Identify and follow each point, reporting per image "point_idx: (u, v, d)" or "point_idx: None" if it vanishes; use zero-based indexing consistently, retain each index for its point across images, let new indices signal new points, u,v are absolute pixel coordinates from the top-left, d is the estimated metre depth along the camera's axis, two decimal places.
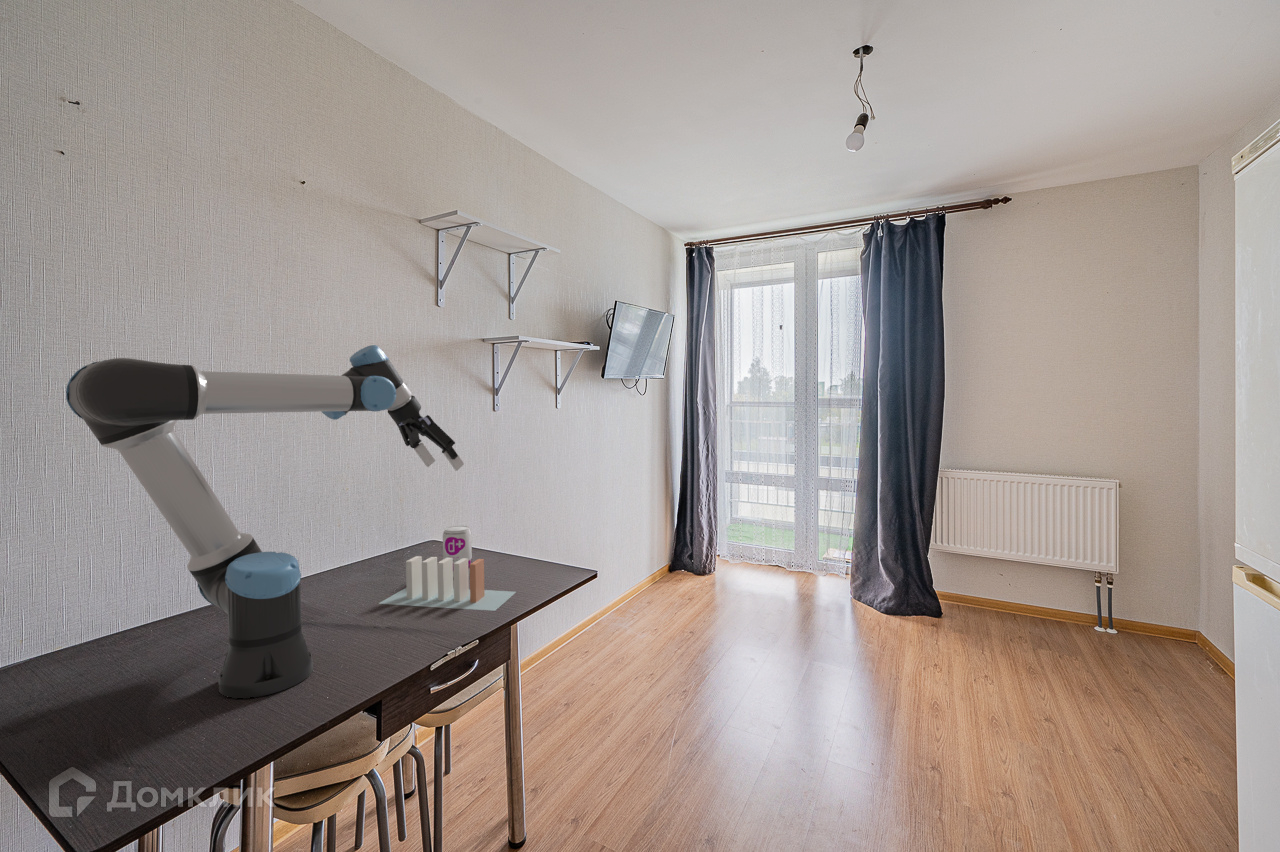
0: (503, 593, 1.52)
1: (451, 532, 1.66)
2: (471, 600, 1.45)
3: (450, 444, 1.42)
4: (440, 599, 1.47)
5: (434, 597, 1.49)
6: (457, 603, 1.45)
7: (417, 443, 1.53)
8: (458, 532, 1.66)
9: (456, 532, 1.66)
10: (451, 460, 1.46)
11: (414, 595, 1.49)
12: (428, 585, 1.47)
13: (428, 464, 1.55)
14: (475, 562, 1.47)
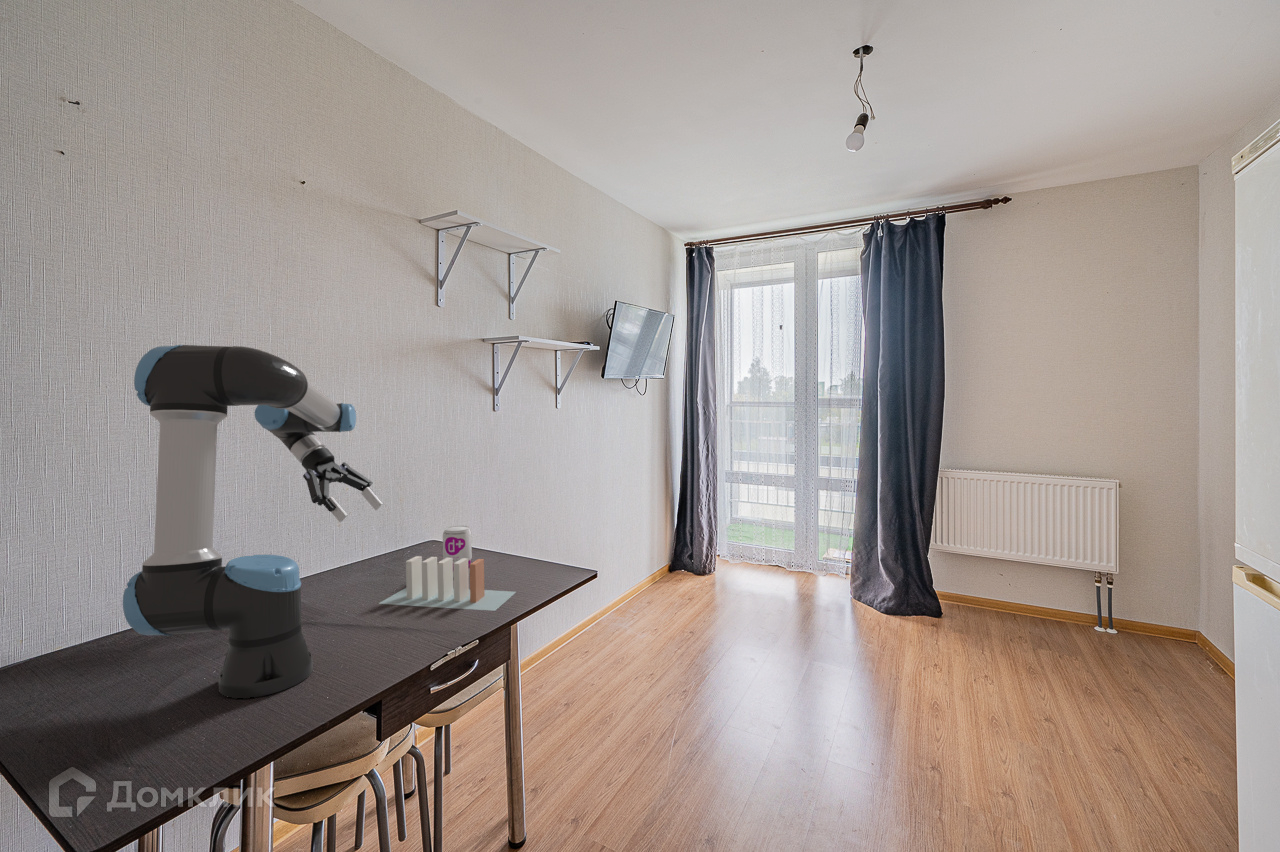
0: (503, 593, 1.52)
1: (451, 532, 1.66)
2: (471, 600, 1.45)
3: None
4: (440, 599, 1.47)
5: (434, 597, 1.49)
6: (457, 603, 1.45)
7: None
8: (458, 532, 1.66)
9: (456, 532, 1.66)
10: None
11: (414, 595, 1.49)
12: (428, 585, 1.47)
13: None
14: (475, 562, 1.47)
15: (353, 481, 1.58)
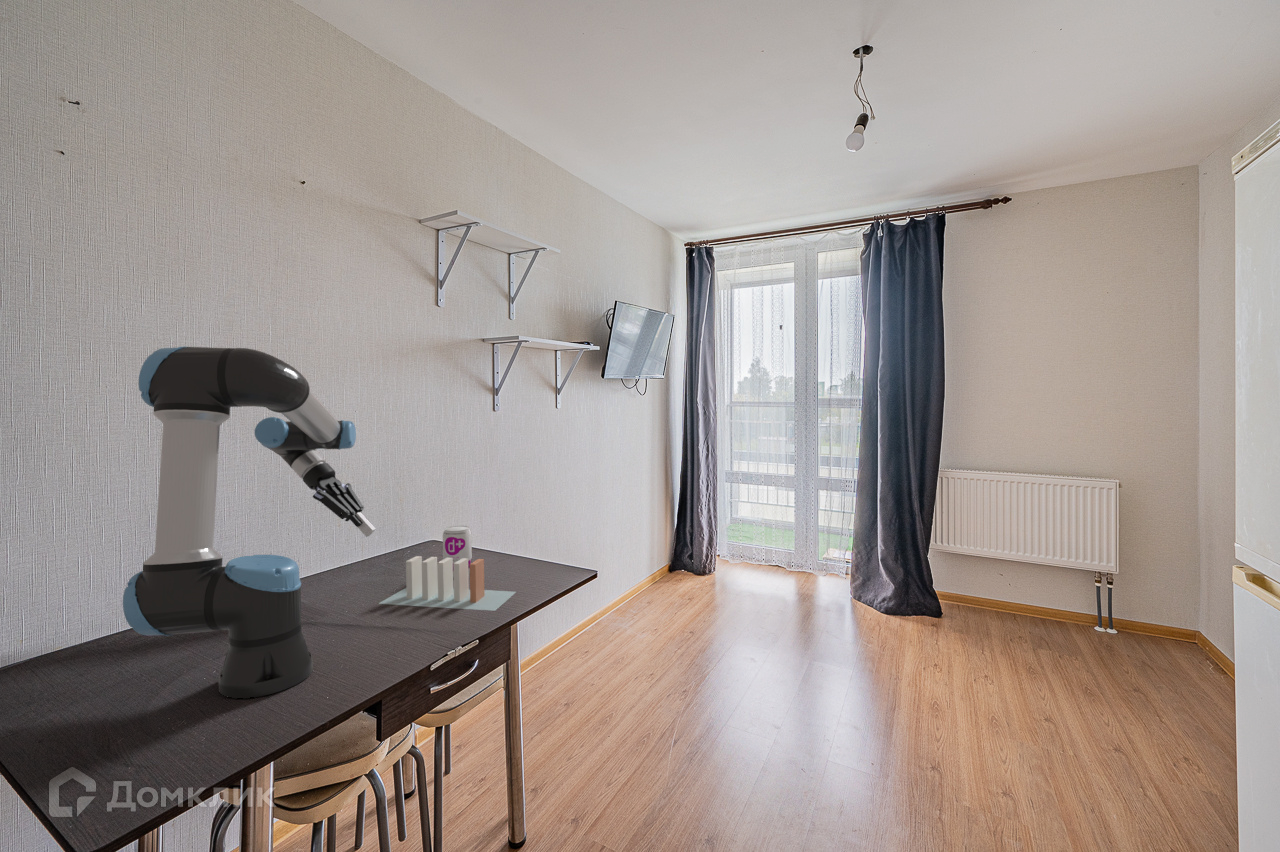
0: (503, 593, 1.52)
1: (451, 532, 1.66)
2: (471, 600, 1.45)
3: None
4: (440, 599, 1.47)
5: (434, 597, 1.49)
6: (457, 603, 1.45)
7: None
8: (458, 532, 1.66)
9: (456, 532, 1.66)
10: None
11: (414, 595, 1.49)
12: (428, 585, 1.47)
13: None
14: (475, 562, 1.47)
15: (347, 501, 1.54)
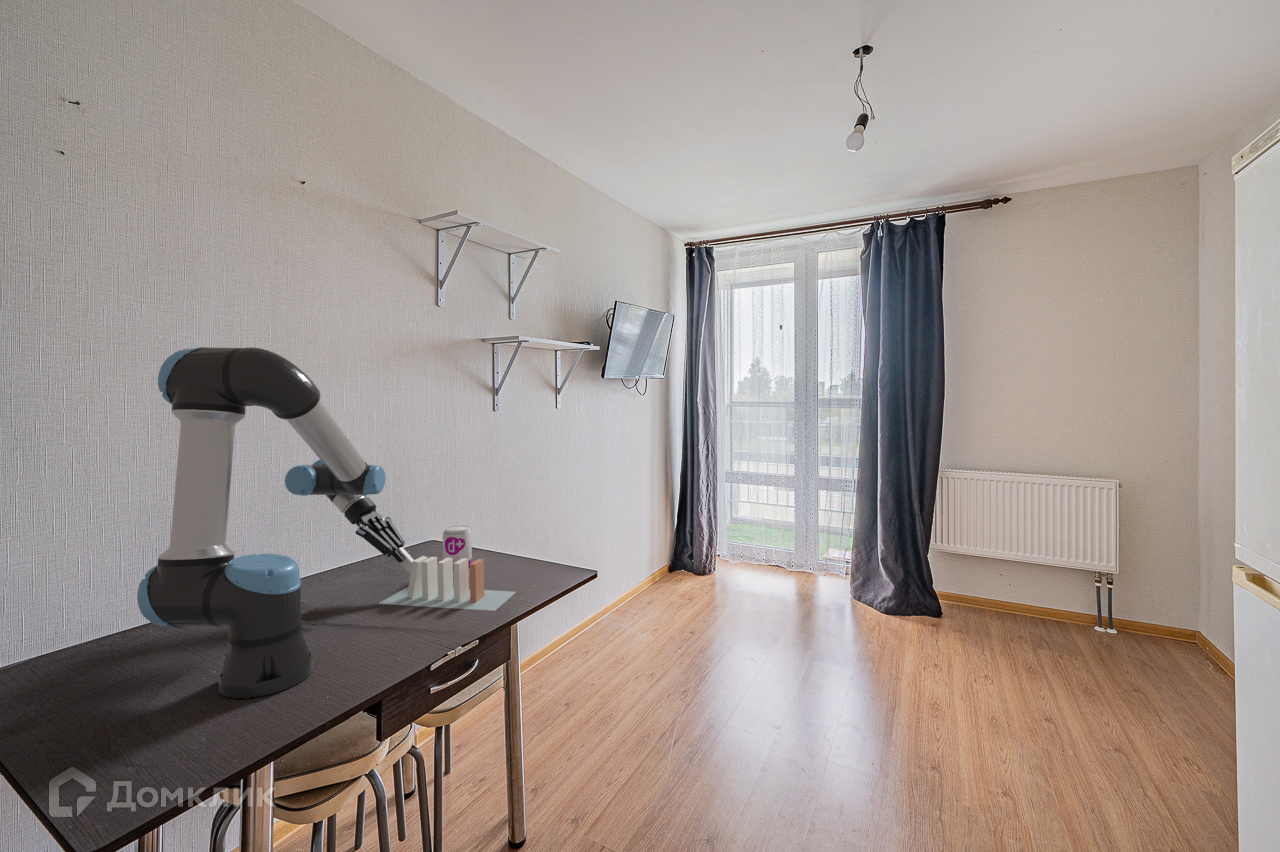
0: (503, 593, 1.52)
1: (451, 532, 1.66)
2: (471, 600, 1.45)
3: None
4: (440, 599, 1.47)
5: (434, 597, 1.49)
6: (457, 603, 1.45)
7: None
8: (458, 532, 1.66)
9: (456, 532, 1.66)
10: None
11: (414, 595, 1.49)
12: (428, 585, 1.47)
13: None
14: (475, 562, 1.47)
15: (388, 536, 1.52)
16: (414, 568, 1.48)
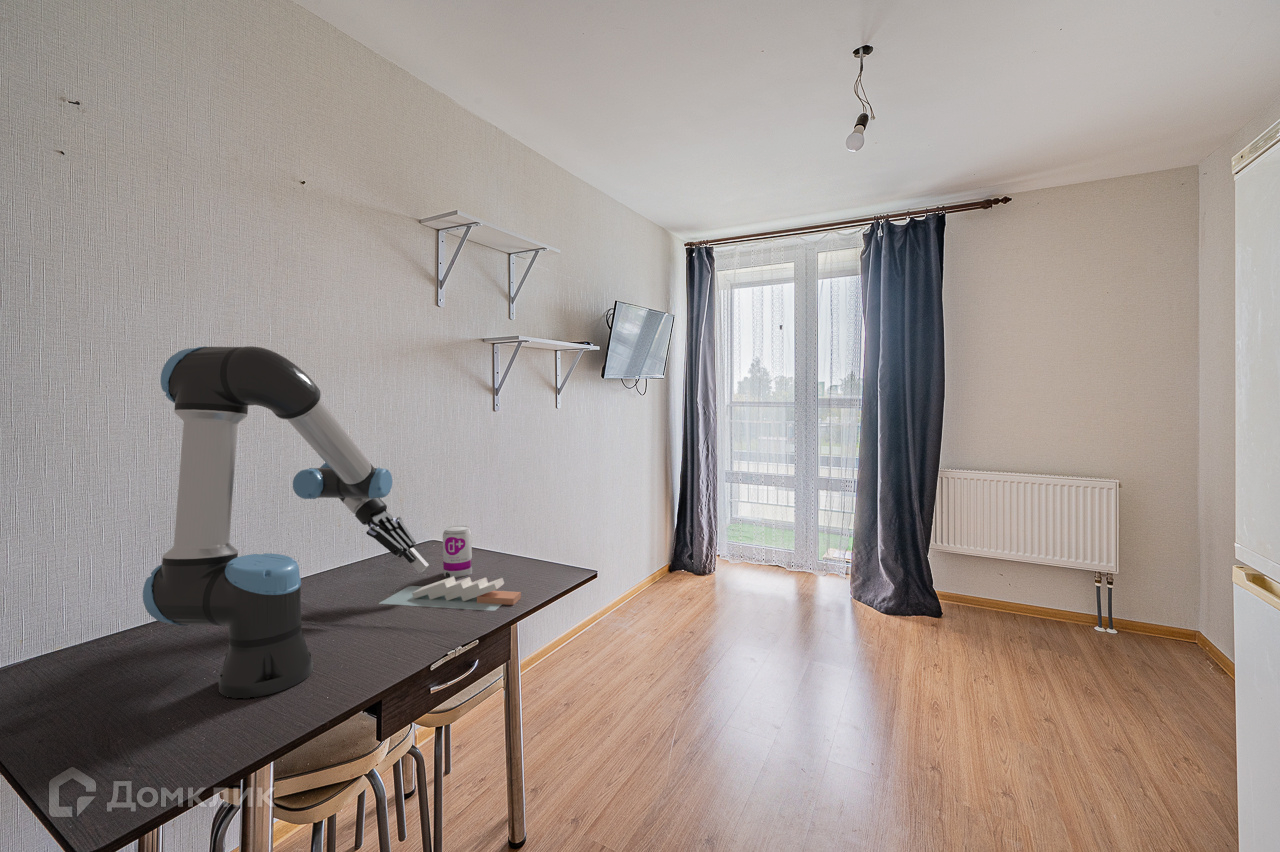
0: None
1: (451, 532, 1.66)
2: (478, 598, 1.45)
3: None
4: (446, 597, 1.46)
5: None
6: (457, 603, 1.45)
7: None
8: (458, 532, 1.66)
9: (456, 532, 1.66)
10: None
11: None
12: (442, 595, 1.47)
13: None
14: (516, 599, 1.45)
15: (399, 536, 1.51)
16: (439, 587, 1.47)
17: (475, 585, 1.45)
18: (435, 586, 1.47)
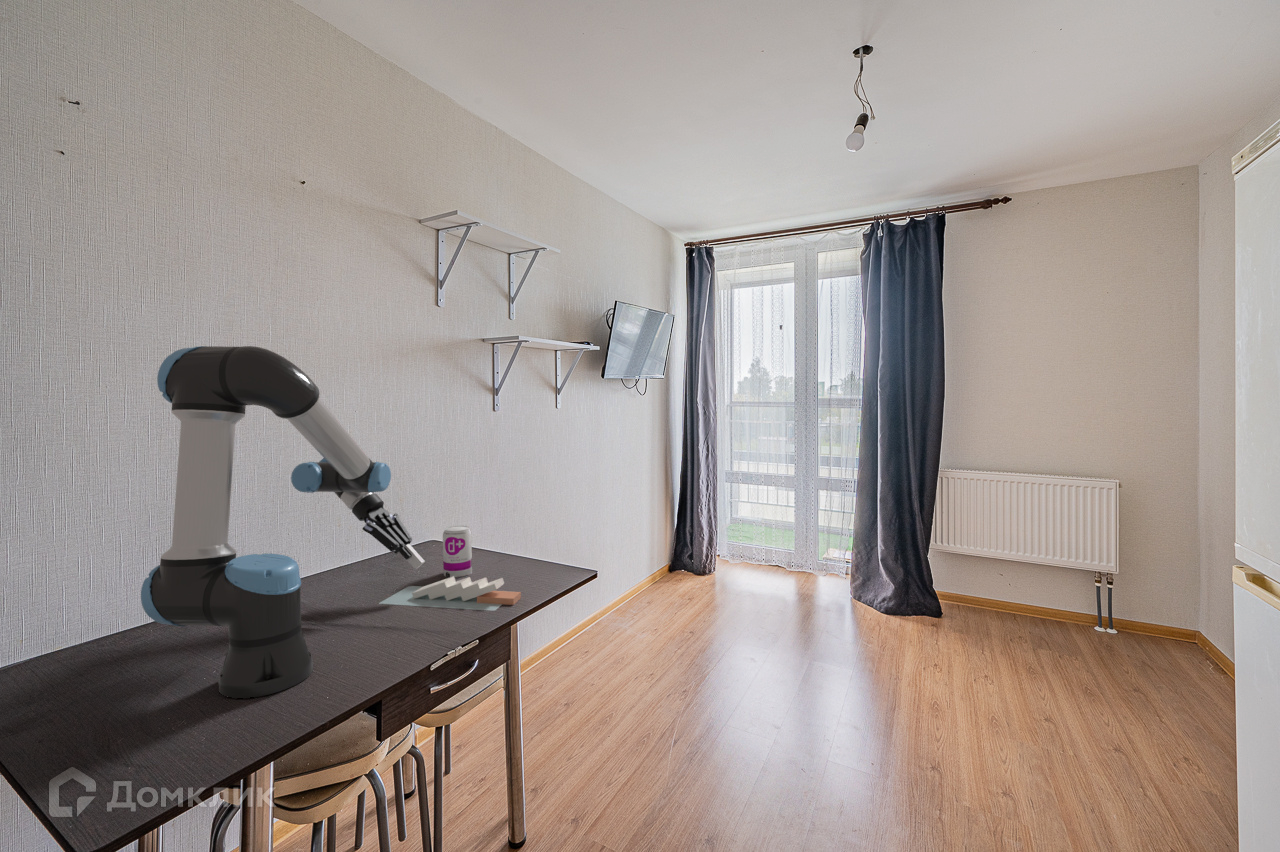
0: None
1: (451, 532, 1.66)
2: (478, 598, 1.45)
3: None
4: (446, 597, 1.46)
5: None
6: (457, 603, 1.45)
7: None
8: (458, 532, 1.66)
9: (456, 532, 1.66)
10: None
11: None
12: (442, 595, 1.47)
13: None
14: (516, 599, 1.45)
15: (396, 533, 1.52)
16: (439, 587, 1.47)
17: (475, 585, 1.45)
18: (435, 586, 1.47)
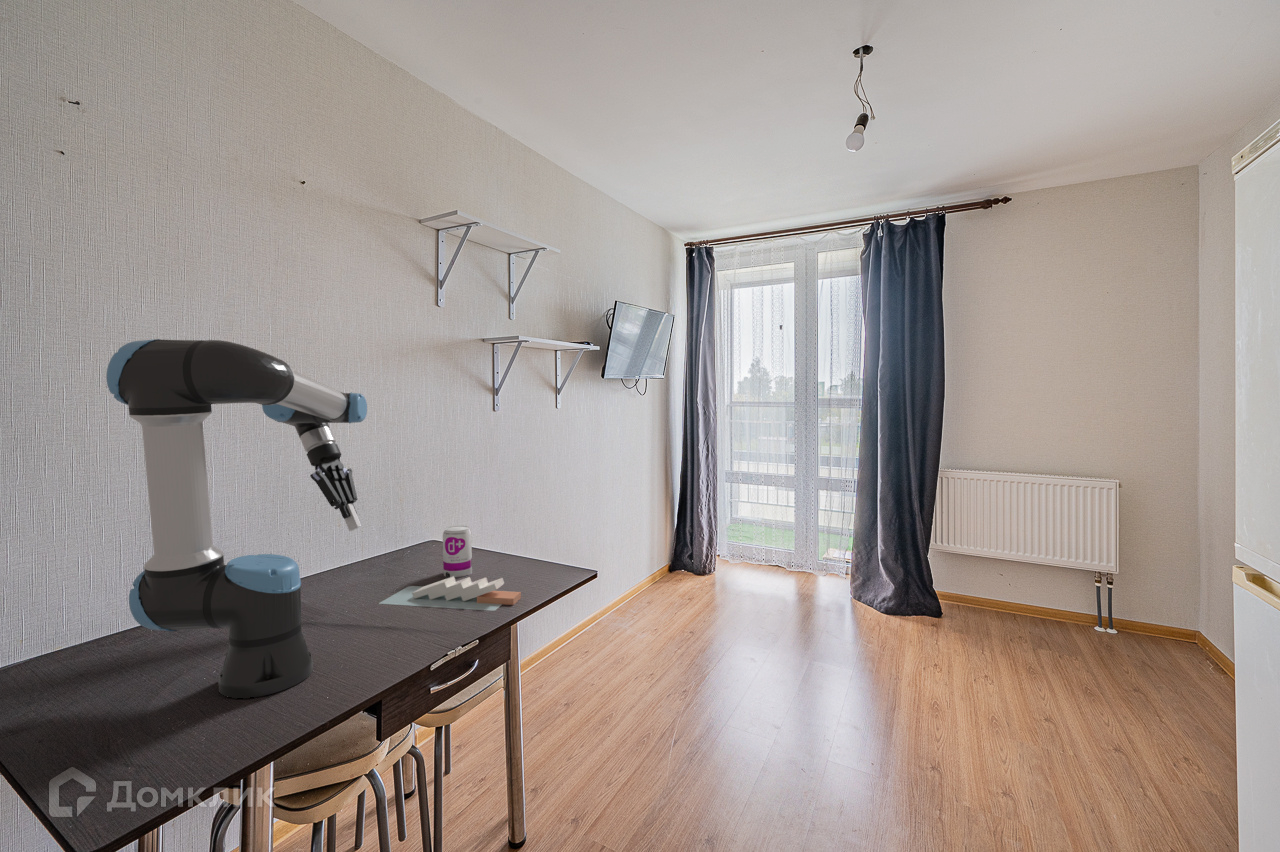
0: None
1: (451, 532, 1.66)
2: (478, 598, 1.45)
3: None
4: (446, 597, 1.46)
5: None
6: (457, 603, 1.45)
7: None
8: (458, 532, 1.66)
9: (456, 532, 1.66)
10: None
11: None
12: (442, 595, 1.47)
13: None
14: (516, 599, 1.45)
15: (343, 488, 1.48)
16: (439, 587, 1.47)
17: (475, 585, 1.45)
18: (435, 586, 1.47)
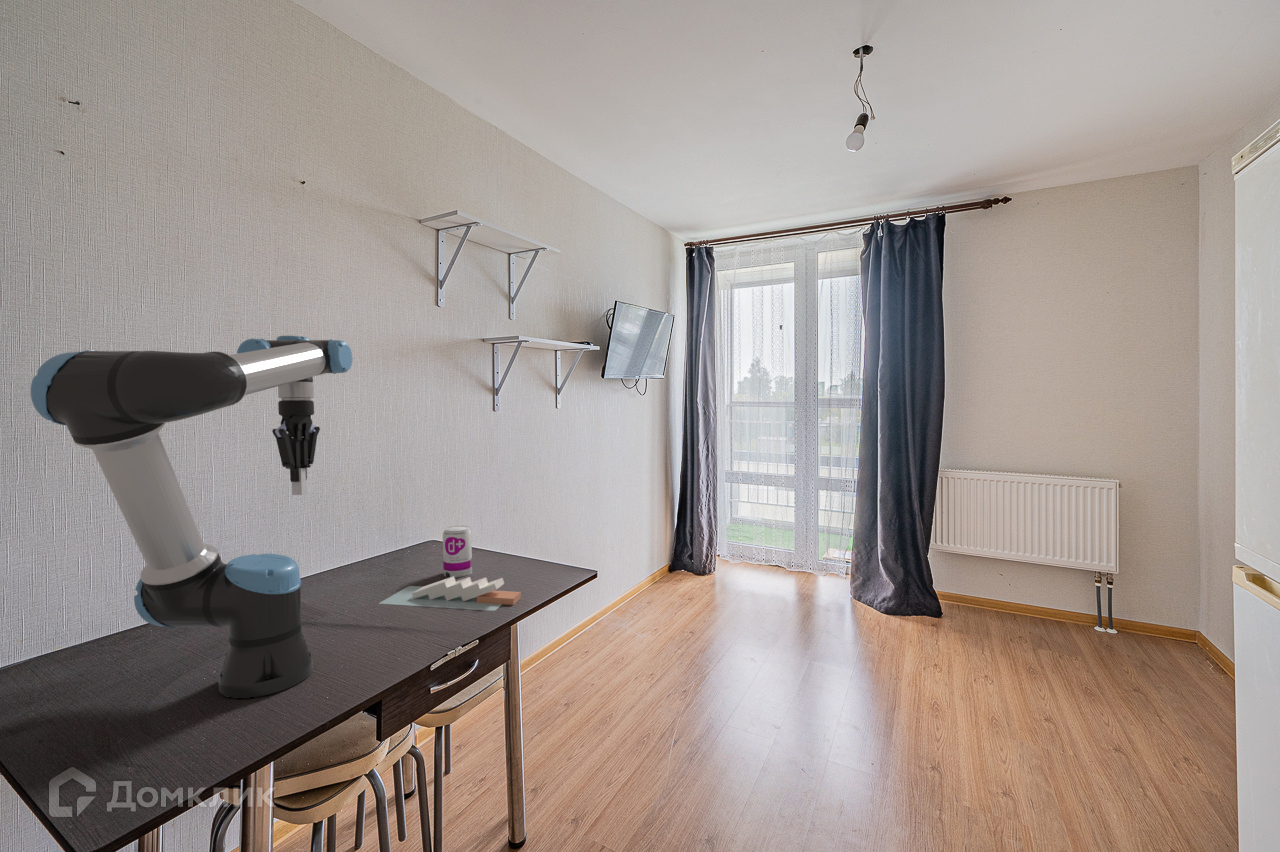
0: None
1: (451, 532, 1.66)
2: (478, 598, 1.45)
3: None
4: (446, 597, 1.46)
5: None
6: (457, 603, 1.45)
7: None
8: (458, 532, 1.66)
9: (456, 532, 1.66)
10: None
11: None
12: (442, 595, 1.47)
13: None
14: (516, 599, 1.45)
15: (302, 449, 1.39)
16: (439, 587, 1.47)
17: (475, 585, 1.45)
18: (435, 586, 1.47)
